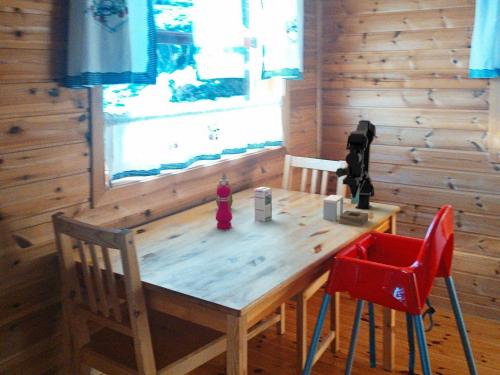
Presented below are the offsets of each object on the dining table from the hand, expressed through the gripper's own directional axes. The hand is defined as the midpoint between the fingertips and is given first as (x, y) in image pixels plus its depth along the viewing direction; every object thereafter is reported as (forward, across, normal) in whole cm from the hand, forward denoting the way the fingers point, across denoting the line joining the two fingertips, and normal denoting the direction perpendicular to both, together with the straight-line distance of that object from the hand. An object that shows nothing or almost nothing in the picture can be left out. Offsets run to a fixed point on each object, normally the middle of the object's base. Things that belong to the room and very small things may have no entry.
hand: (354, 196), depth 245 cm
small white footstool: (+12, -4, -11) cm, 16 cm away
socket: (+12, 0, 0) cm, 12 cm away
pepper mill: (+12, +32, -48) cm, 59 cm away
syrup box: (+12, +14, -38) cm, 42 cm away
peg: (+3, 0, 0) cm, 3 cm away
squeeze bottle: (+12, +6, -62) cm, 64 cm away
